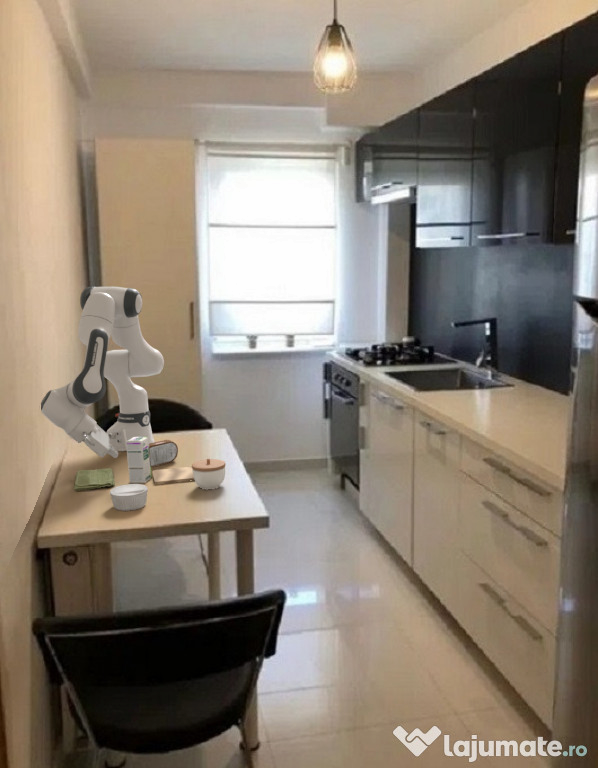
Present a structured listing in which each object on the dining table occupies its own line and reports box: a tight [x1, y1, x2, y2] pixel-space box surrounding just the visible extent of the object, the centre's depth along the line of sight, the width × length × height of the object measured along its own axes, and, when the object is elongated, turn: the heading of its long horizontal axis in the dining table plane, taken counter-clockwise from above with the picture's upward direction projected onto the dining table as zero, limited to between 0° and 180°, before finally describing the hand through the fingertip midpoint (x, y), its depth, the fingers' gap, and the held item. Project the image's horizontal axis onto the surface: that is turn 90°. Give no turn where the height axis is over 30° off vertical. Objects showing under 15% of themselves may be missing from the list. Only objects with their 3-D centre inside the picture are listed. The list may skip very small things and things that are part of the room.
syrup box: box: [126, 437, 153, 484], centre depth 240 cm, size 6×6×14 cm
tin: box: [149, 439, 179, 468], centre depth 259 cm, size 15×3×8 cm, turn 134°
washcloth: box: [73, 468, 116, 492], centre depth 241 cm, size 13×18×3 cm
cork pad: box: [151, 465, 194, 486], centre depth 244 cm, size 14×14×1 cm
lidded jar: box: [191, 457, 226, 491], centre depth 231 cm, size 11×11×9 cm
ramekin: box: [109, 483, 149, 512], centre depth 215 cm, size 11×11×5 cm
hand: (117, 455), depth 238 cm, fingers closed
